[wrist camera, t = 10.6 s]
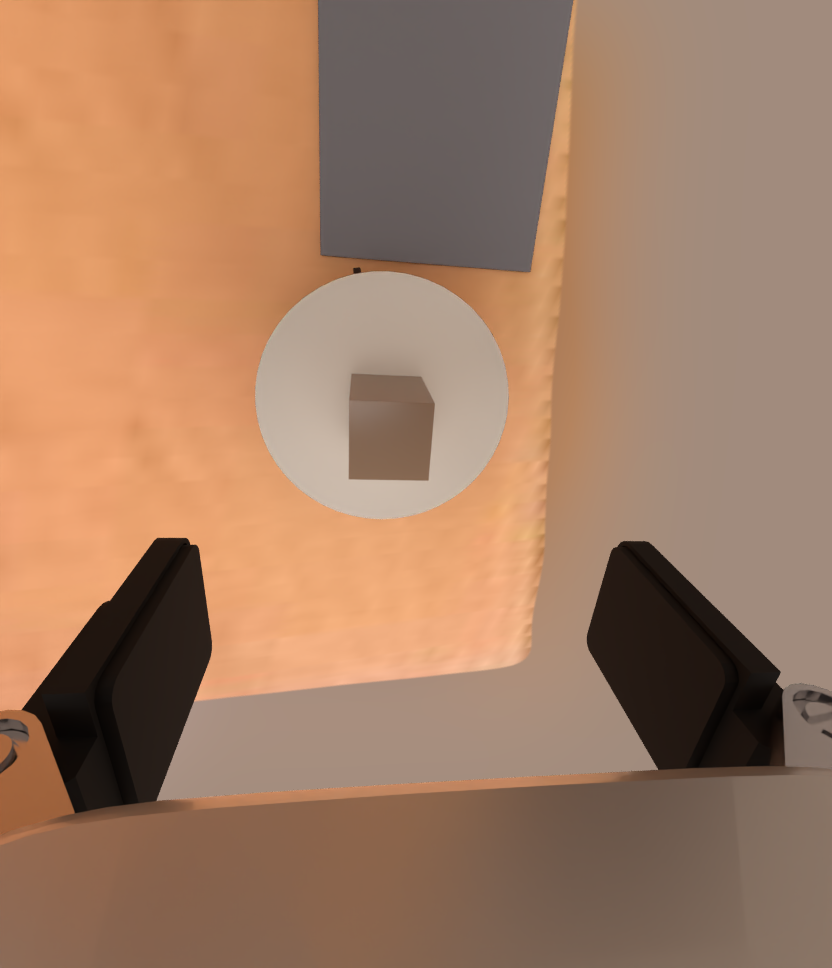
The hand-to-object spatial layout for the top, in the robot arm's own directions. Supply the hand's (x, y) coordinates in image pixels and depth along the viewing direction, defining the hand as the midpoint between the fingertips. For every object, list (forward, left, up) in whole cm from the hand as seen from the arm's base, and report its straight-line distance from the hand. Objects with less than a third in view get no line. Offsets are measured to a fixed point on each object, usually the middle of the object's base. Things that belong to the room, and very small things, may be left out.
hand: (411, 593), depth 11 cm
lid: (0, 0, -16) cm, 16 cm away
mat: (-14, +3, -26) cm, 30 cm away
